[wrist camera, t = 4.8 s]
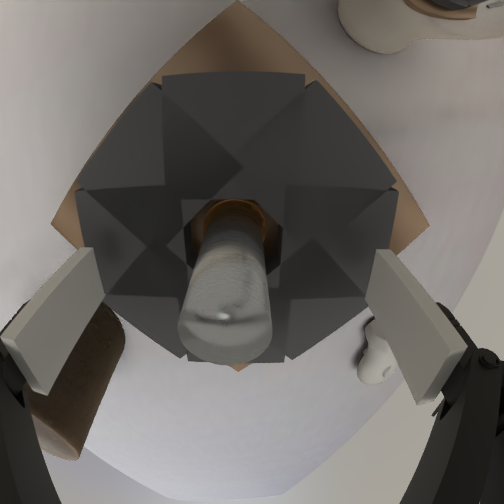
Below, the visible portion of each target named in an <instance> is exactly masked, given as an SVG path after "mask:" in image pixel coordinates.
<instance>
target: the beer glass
mask: <svg viewBox="0 0 504 504" xmlns="http://www.w3.org/2000/svg"><path fill="white" fill-rule="evenodd" d="M338 16H339V19H340V22H341V24H342V26H343V28H344V29H345V31H346V32H347V33H348V35H349V36H350V37H351V38H352V39H353V40H354V41H356V42H357V43H358V44H359V45H361V46H362V47H364V48H366V49H368V50H370V51H373V52H376V53H381V54H394V53H397V52H400V51H402V50H404V49H405V48H406V47H408V46H409V45H410V44H412V43H413V42H414V41H416V40H421V39H446V40H484V39H496V38H504V0H339V3H338Z"/></svg>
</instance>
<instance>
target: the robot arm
mask: <svg viewBox="0 0 504 504" xmlns="http://www.w3.org/2000/svg"><path fill="white" fill-rule="evenodd" d="M104 297H105V294H104V290H103V287H102V283H101V279H100V275H99V271H98V267H97V263H96V259H95V254H94V250H93V248H90V247H80V248H79V249H78V250H77V251H76V252H75V253H74V254H73V255H72V256H71V257H70V258H69V259H68V260H67V261H66V262H65V263H64V264H63V265H62V266H61V267H60V268H59V269H58V270H57V271H56V272H55V273H54V274H53V276H52V277H51V278H50V279H49V280H48V281H47V282H46V283H45V284H44V285H43V286H42V287H41V288H40V290H39V291H38V292H37V293H36V294H35V295H34V296H33V297H32V299H30V300H29V301H28V302H26V303H25V304H23V305H22V307H21V308H20V309H19V310H18V311H17V314H15V315H14V316H13V317H12V320H10V321H9V322H8V323H7V325H6V326H5V327H4V328H3V330H2V331H1V332H0V504H61V501H60V499H59V497H58V495H57V492H56V490H55V487H54V485H53V483H52V480H51V477H50V475H49V472H48V469H47V466H46V463H45V460H44V458H43V454H42V451H41V448H40V445H39V441H38V438H37V434H36V431H35V427H34V423H33V419H32V415H31V410H30V406H29V401H28V396H27V392H26V390H25V388H24V387H23V386H24V384H25V382H26V381H27V382H28V384H29V385H30V387H31V388H32V390H33V391H35V392H38V393H41V394H44V395H47V396H48V394H49V392H50V390H51V388H52V386H53V384H54V382H55V380H56V378H57V376H58V375H59V373H60V371H61V369H62V367H63V365H64V364H65V362H66V360H67V358H68V356H69V355H70V353H71V351H72V349H73V348H74V346H75V344H76V342H77V341H78V339H79V337H80V336H81V334H82V332H83V331H84V329H85V327H86V326H87V324H88V322H89V321H90V319H91V318H92V316H93V314H94V313H95V311H96V310H97V308H98V307H99V305H100V303H101V302H102V300H103V299H104ZM365 300H366V302H367V304H368V306H369V308H370V310H371V311H372V313H373V315H374V317H375V319H376V321H377V323H378V325H379V327H380V329H381V331H382V333H383V335H384V337H385V339H386V341H387V343H388V345H389V347H390V349H391V351H392V353H393V355H394V357H395V359H396V361H397V363H398V365H399V367H400V369H401V371H402V373H403V376H404V378H405V380H406V382H407V384H408V386H409V389H410V391H411V393H412V395H413V398H414V400H415V402H416V404H417V405H421V404H425V403H428V402H432V401H434V400H435V398H436V397H437V395H438V394H439V393H440V391H442V393H443V395H444V399H443V400H442V401H441V403H440V404H439V406H438V407H437V408H436V410H435V411H434V413H433V414H432V416H435V414H436V413H437V412H438V414H437V417H436V420H435V423H434V426H433V428H432V431H431V434H430V437H429V440H428V442H427V445H426V448H425V450H424V453H423V455H422V457H421V460H420V462H419V465H418V467H417V469H416V472H415V473H414V476H413V478H412V480H411V482H410V484H409V486H408V488H407V490H406V492H405V494H404V496H403V498H402V500H401V502H400V504H479V502H480V504H504V361H500V359H499V358H498V356H497V355H496V354H495V353H494V352H492V351H490V350H488V349H484V348H479V349H478V348H477V346H476V345H475V344H474V342H473V341H472V340H471V339H470V337H469V335H468V334H467V333H466V331H465V330H464V329H463V328H462V326H460V324H459V322H458V321H457V320H456V319H455V317H454V316H453V314H452V313H451V312H450V311H449V309H447V308H446V307H445V306H443V305H442V304H440V303H439V302H437V303H435V302H434V300H433V299H432V298H431V297H430V295H429V294H428V293H427V292H426V290H425V289H424V288H423V287H422V285H421V284H420V283H419V282H418V281H417V279H416V278H415V277H414V276H413V275H412V273H411V272H410V271H409V270H408V269H407V268H406V266H405V265H404V264H403V263H402V262H401V261H400V260H399V258H398V257H397V256H396V255H395V254H394V253H393V252H392V251H391V250H389V249H376V254H375V258H374V263H373V267H372V272H371V276H370V280H369V285H368V289H367V293H366V297H365Z"/></svg>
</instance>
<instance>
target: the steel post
mask: <svg viewBox="0 0 504 504" xmlns="http://www.w3.org/2000/svg"><path fill="white" fill-rule="evenodd" d="M203 235H204V239H203V242H202V245H201V248H200V252H199V255H198V258H197V261H196V264H195V267H194V270H193V274H192V277H191V280H190V283H189V287H188V290H187V293H186V297H185V300H184V303H183V307H182V310H181V314H180V317H179V321H178V334H179V337H180V340H181V342H182V343H183V345H184V346H185V347H186V348H187V349H188V350H189V351H190V352H191V353H192V354H193V355H195V356H196V357H198V358H200V359H202V360H204V361H207V362H210V363H214V364H219V365H236V364H242V363H245V362H248V361H251V360H253V359H255V358H257V357H258V356H259V355H261V354H262V353H263V352H264V351H265V350H266V349H267V347H268V346H269V344H270V342H271V339H272V321H271V312H270V302H269V293H268V284H267V275H266V266H265V258H264V249H263V242H264V240H265V236H266V224H265V218H264V215H263V213H262V211H261V209H260V208H259V207H258V205H257V204H255V203H254V202H253V201H251V200H250V199H220V200H218V201H217V202H216V203H214V204H213V205H212V206H211V208H210V209H209V211H208V213H207V215H206V218H205V220H204V224H203Z"/></svg>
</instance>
